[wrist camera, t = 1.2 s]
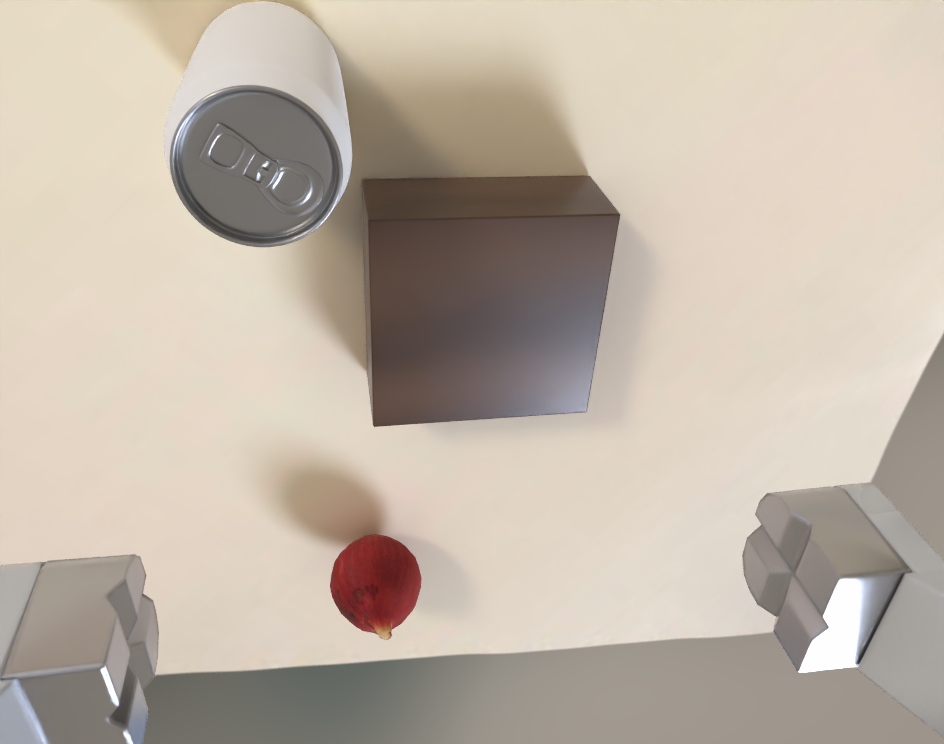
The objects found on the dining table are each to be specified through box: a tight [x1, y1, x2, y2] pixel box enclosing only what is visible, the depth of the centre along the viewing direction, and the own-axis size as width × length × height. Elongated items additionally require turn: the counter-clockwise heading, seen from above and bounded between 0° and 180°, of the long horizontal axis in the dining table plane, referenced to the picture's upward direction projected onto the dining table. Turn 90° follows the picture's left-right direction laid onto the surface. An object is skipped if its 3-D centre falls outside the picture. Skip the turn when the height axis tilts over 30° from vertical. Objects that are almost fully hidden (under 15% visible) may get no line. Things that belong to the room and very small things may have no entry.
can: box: [164, 1, 352, 247], centre depth 31 cm, size 6×6×12 cm
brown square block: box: [361, 176, 620, 427], centre depth 42 cm, size 12×12×5 cm
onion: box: [330, 534, 421, 640], centre depth 51 cm, size 6×6×8 cm
